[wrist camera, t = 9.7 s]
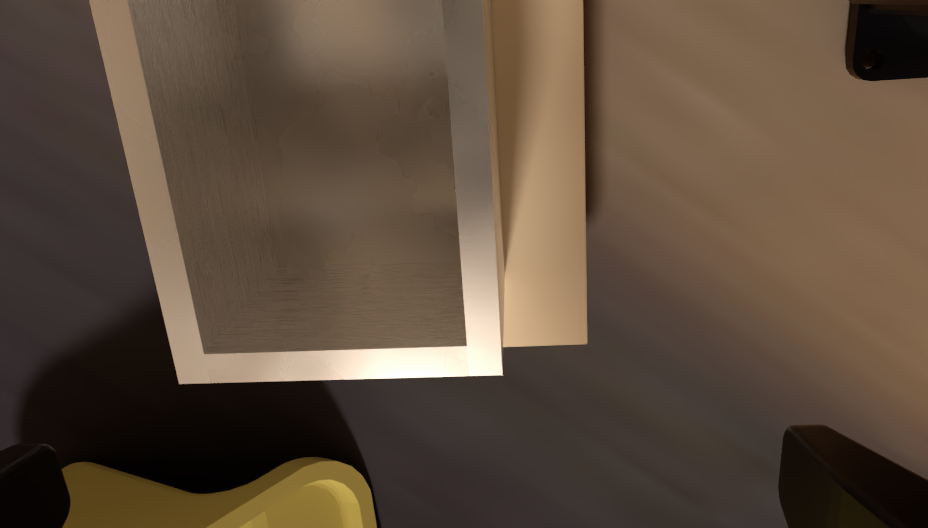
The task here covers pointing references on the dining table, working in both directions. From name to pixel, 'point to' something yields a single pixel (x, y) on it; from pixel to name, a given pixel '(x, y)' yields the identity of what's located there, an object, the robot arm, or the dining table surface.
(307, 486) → the plastic component
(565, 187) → the stand
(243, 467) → the dining table surface
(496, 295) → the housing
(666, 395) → the dining table surface
